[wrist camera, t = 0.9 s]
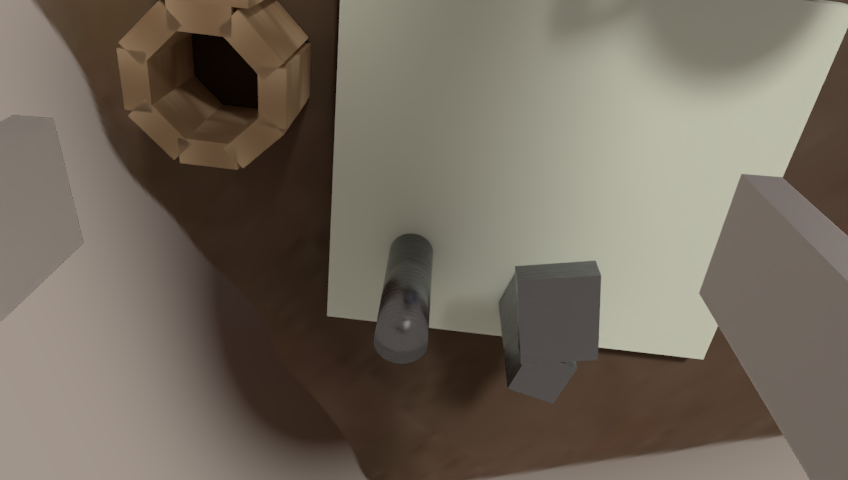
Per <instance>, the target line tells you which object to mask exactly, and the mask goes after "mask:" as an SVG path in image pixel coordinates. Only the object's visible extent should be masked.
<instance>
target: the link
mask: <svg viewBox="0 0 848 480" xmlns="http://www.w3.org/2000/svg"><path fill="white" fill-rule="evenodd" d="M194 33H196V34H204V35H213V36H221V37H224V38H225V39H226V40H227V41H228V42H229V43H230V45H231V46H232V47H233V48H234V49H235V50H236V51H237V52H238V53H239V54H240V55H241V57H242V58H243V59H244V60H245V61H246V62H247V63H248V64H249V65H250V66H251V68H252V69H253V70H254V71H255V72H256V73H257V74H258V109H253V108H245V107H237V106H229V105H222V104H221V102H220V101H219V100H218V99H217V98H216V97H215V96H214V95H213V94H212V93H211V92H210V91H209V90H208V89H207V88H206V87H205V86H204V85H203V84H202V83H201V82H200V81H199V80H198V79H197V77H196V76H195V75H194V63H193V50H192V35H193V34H194ZM308 38H309V37H308V36H307V35H306V34H305V33H304V32H303V30H302V29H301V28H300V27H299V26H298V25H297V23H296V22H295V21H294V20H293V19H292V17H291V16H290V15H289V14H288V13H287V12H286V10H285V9H284V8H283V7H282V6H281V5H280V3H279V2H278V1H277V0H159V1H158V2H157V3H156V4H155V5H154V6H153V7H152V8H151V9H150V10H149V11H148V12H147V13H146V14H145V15H144V16H143V17H142V18H141V19H140V20H139V21H138V22H137V23H136V25H135V26H134V27H133V28H132V29H131V30H130V31H129V32H128V33H127V34H126V35H125V36H124V37H123V38H122V39H121V40H120V41H119V42H118V43H119V44H120V45H121V47H119V48H116V49H117V57H118V64H119V72H120V79H121V87H122V94H123V102H124V109H125V110H130V111H132V112H131V113H130V114H129V115H128V116H129V117H130V118H131V119H132V120H133V121H134V122H135V123H136V124H137V125H138V126H139V127H140V128H141V129H142V130H143V131H144V132H145V133H146V134H147V135H148V136H149V137H150V138H151V139H152V140H154V141H155V142H156V143H157V144H158V145H159V146H160V147H161V148H162V149H163V150H164V151H165V152H166V153H167V154H168V155H169V156H170V157H171V158H172V159H173V160H175V159H176V158H177V157H178V156H179V159H180V163H183V164H192V165H200V166H209V167H217V168H225V169H234V170H238V169H239V168H240V166H241V167H242V168H244V167H246V166H247V165H248V164H249V163H250V162H252V161H253V160H254V159H255V158H256V157H258V156H259V155H260V154H261V153H262V152H264V151H265V150H266V149H267V148H268V147H270V146H271V145H272V144H273V143H274V142H276V141H277V140H278V139H279V138H280V137H282V136H283V135H284V134H285V132H286V131H287V130H288V128H289V127H290V125H291V124H292V122H293V121H294V120H295V118H296V117H297V115H298V114H299V113H300V111H301V110H302V108H303V107H304V105H305V104H306V103H307V100H308V98H309V97H310V67H311V43H304V42H305V41H306V40H307V39H308Z"/></svg>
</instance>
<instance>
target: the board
mask: <svg viewBox="0 0 848 480" xmlns="http://www.w3.org/2000/svg"><path fill="white" fill-rule="evenodd" d="M847 28H848V4H845V3H841V2H833V1H825V0H340V10H339V35H338V59H337V84H336V108H335V133H334V157H333V181H332V206H331V230H330V255H329V279H328V303H327V316H330V317H339V318H348V319H356V320H365V321H374V322H377V318H378V312H379V307H380V301H381V295H382V290H383V284H384V279H385V273H386V268H387V262H388V257H389V251H390V247H391V244H392V242H393V241H394V240H395V239H396V238H397V237H399V236H401V235H404V234H410V233H411V234H418V235H420V236H423V237H424V238H426V239H427V240H428V241H429V242H430V244H431V246H432V248H433V264H432V282H431V299H430V316H429V328H434V329H443V330H452V331H460V332H469V333H478V334H486V335H495V336H502V331H501V322H500V313H499V304H498V303H499V301H500V299H501V297H502V296H503V294H504V292H505V290H506V288H507V287H508V285H509V283H510V281H511V279H512V278H513V276H514V274H515V266H524V265H539V264H554V263H568V262H583V261H596V263H597V266H598V268H599V271H600V274H601V293H600V319H599V345H598V347H599V348H608V349H616V350H625V351H633V352H642V353H651V354H659V355H668V356H677V357H685V358H694V359H704V357H705V354H706V352H707V350H708V348H709V345H710V343H711V341H712V338H713V336H714V334H715V331H716V329H717V327H718V324H717V323H716V321H715V319H714V318H713V316H712V314H711V313H710V311H709V309H708V308H707V306H706V304H705V302H704V301H703V299H702V297H701V296H700V294H699V292H700V289H701V286H702V284H703V281H704V278H705V275H706V272H707V270H708V267H709V264H710V261H711V258H712V255H713V253H714V250H715V247H716V244H717V241H718V239H719V236H720V233H721V230H722V227H723V224H724V222H725V219H726V216H727V213H728V210H729V208H730V205H731V202H732V199H733V196H734V193H735V191H736V188H737V185H738V182H739V179H740V177H741V174H748V175H761V176H773V177H783V175H784V173H785V170H786V168H787V166H788V164H789V161H790V159H791V157H792V154H793V152H794V150H795V147H796V145H797V143H798V141H799V138H800V136H801V134H802V131H803V129H804V127H805V124H806V122H807V120H808V118H809V115H810V113H811V111H812V108H813V106H814V104H815V102H816V99H817V97H818V95H819V92H820V90H821V88H822V85H823V83H824V81H825V79H826V76H827V74H828V72H829V69H830V67H831V65H832V62H833V60H834V58H835V56H836V53H837V51H838V49H839V46H840V44H841V42H842V39H843V37H844V35H845V33H846V30H847Z"/></svg>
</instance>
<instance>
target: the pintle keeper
mask: <svg viewBox="0 0 848 480" xmlns="http://www.w3.org/2000/svg"><path fill="white" fill-rule="evenodd" d="M432 264H433V248H432V246H431V244H430V242H429V241H428V240H427V239H426V238H424V237H423V236H420V235H418V234H411V233H410V234H404V235H401V236H399V237H397V238H396V239H395V240H394V241H393V242H392V244H391V247H390V251H389V257H388V262H387V268H386V273H385V279H384V284H383V290H382V295H381V301H380V307H379V312H378V318H377V323H376V329H375V334H374V347H375V349H376V351H377V352H378V354H379V355H380V356H381V357H382V358H384V359H386V360H388V361H390V362H393V363H398V364H406V363H411V362H414V361H416V360H418V359H420V358H421V357H422V356H423V355H424V354H425V352H426V350H427V347H428V333H429V316H430V299H431V282H432ZM600 293H601V274H600V271H599V268H598V266H597V263H596V261H583V262H568V263H554V264H539V265H524V266H515V274H514V276H513V278H512V279H511V281H510V283H509V285H508V287H507V288H506V290H505V292H504V294H503V296H502V297H501V299H500V301H499V303H498V304H499V313H500V322H501V331H502V341H503V350H504V359H505V368H506V378H507V387H508V389H510V390H514V391H517V392H520V393H523V394H526V395H529V396H532V397H535V398H538V399H541V400H544V401H547V402H550V403H554V402H555V400H556V399H557V397H558V396H559V395H560V393H561V392H562V390H563V389H564V387H565V386H566V384H567V383H568V381H569V380H570V378H571V377H572V375H573V374H574V373H575V371H576V370H577V365H576V361H591V360H598V345H599V319H600Z"/></svg>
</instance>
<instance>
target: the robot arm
mask: <svg viewBox="0 0 848 480" xmlns="http://www.w3.org/2000/svg"><path fill="white" fill-rule="evenodd" d="M82 244H83V238H82V234H81V230H80V226H79V222H78V217H77V214H76V209H75V205H74V201H73V197H72V193H71V189H70V185H69V181H68V176H67V172H66V168H65V164H64V160H63V156H62V152H61V147H60V144H59V139H58V135H57V131H56V127H55V123H54V119H53V118H45V117H33V116H19V115H13V116H11V117H9V118H7V119H5V120H3V121H1V122H0V322H1V321H2V320H3V319H4V318H5V317H6V316H7V315H8V314H9V313H10V312H11V311H13V310H14V309H15V308H16V307H17V306H18V305H19V304H20V303H21V302H22V301H23V300H24V299H25V298H26V297H27V296H28V295H29V294H30V293H31V292H32V291H34V290H35V289H36V288H37V287H38V286H39V285H40V284H41V283H42V282H43V281H44V280H45V279H46V278H47V277H48V276H49V275H50V274H51V273H52V272H53V271H54V270H56V269H57V268H58V267H59V266H60V265H61V264H62V263H63V262H64V261H65V260H66V259H67V258H68V257H69V256H70V255H71V254H72V253H73V252H74V251H75V250H76V249H78V247H80V246H81V245H82ZM699 294H700V296H701V297H702V299H703V301H704V302H705V304H706V306H707V308H708V309H709V311H710V313H711V314H712V316H713V318H714V319H715V321H716V323H717V324H718V326H719V328H720V329H721V331H722V333H723V334H724V336H725V338H726V339H727V341H728V343H729V344H730V346H731V348H732V350H733V351H734V353H735V355H736V356H737V358H738V360H739V361H740V363H741V365H742V366H743V368H744V370H745V371H746V373H747V375H748V376H749V378H750V380H751V381H752V383H753V385H754V387H755V388H756V390H757V392H758V393H759V395H760V397H761V398H762V400H763V402H764V403H765V405H766V407H767V408H768V410H769V412H770V413H771V415H772V417H773V418H774V420H775V422H776V423H777V425H778V427H779V429H780V430H781V432H782V434H783V435H784V437H785V439H786V440H787V442H788V444H789V445H790V447H791V449H792V450H793V452H794V454H795V455H796V457H797V459H798V460H799V462H800V464H801V465H802V467H803V469H804V470H805V472H806V474H807V476H808V477H809V479H810V480H848V236H847V235H846V234H845V233H844V232H843V231H841V230H840V229H839V228H838V227H837V226H836V225H835V224H834V223H832V222H831V221H830V220H829V219H828V218H827V217H826V216H825V215H824V214H822V213H821V212H820V211H819V210H818V209H817V208H816V207H815V206H813V205H812V204H811V203H810V202H809V201H808V200H807V199H806V198H805V197H803V196H802V195H801V194H800V193H799V192H798V191H797V190H796V189H794V188H793V187H792V186H791V185H790V184H789V183H788V182H787V181H786V180H784V179H783V178H782V177H773V176H761V175H748V174H741V177H740V179H739V182H738V185H737V188H736V191H735V193H734V196H733V199H732V202H731V205H730V208H729V210H728V213H727V216H726V219H725V222H724V224H723V227H722V230H721V233H720V236H719V239H718V241H717V244H716V247H715V250H714V253H713V255H712V258H711V261H710V264H709V267H708V270H707V272H706V275H705V278H704V281H703V284H702V286H701V289H700V292H699Z"/></svg>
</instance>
